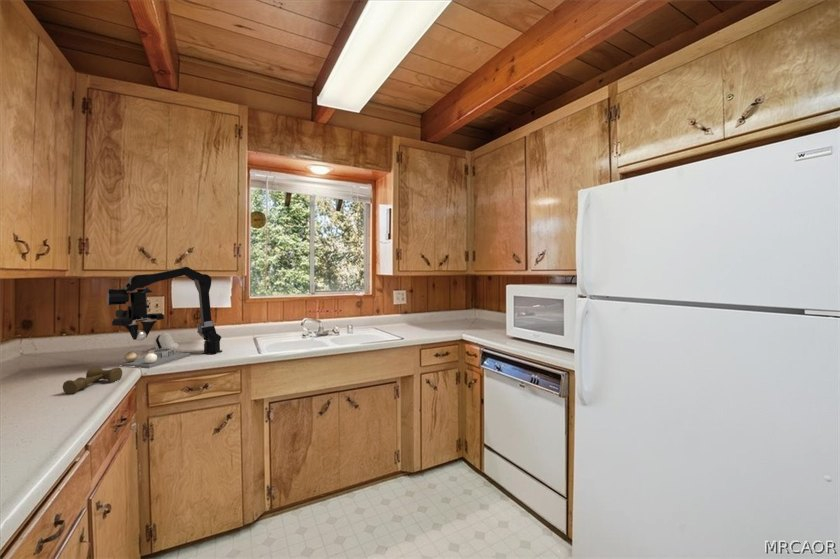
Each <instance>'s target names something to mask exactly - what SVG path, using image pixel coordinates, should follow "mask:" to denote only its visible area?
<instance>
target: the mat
mask: <svg viewBox="0 0 840 559" xmlns="http://www.w3.org/2000/svg"><path fill="white" fill-rule="evenodd" d="M191 356H192V354H191V352H176V354H175V355H173V356H169V357H164V358H157V360H156V361H155V362H154V363H147V362H145V356H143V357H138V358H136V360H135V361H133V362H127V361H124V362H119V363H118V366H119V365H122V366H121V367H124V366H135V367H134V368H139V367H141V368H144V369H152V368H155V367H158V366H162V365H164V364H169V363H171V362H173V361H179V360H182V359H185V358H188V357H191ZM141 368H140V369H141Z"/></svg>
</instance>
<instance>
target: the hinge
mask: <svg viewBox="0 0 840 559" xmlns="http://www.w3.org/2000/svg"><path fill="white" fill-rule="evenodd" d="M153 345H154V347H155V348H154V349H160V348H175V349H176V350H177V349H178V348H179V347H180V346H179V344H178V342H175V341H174V339H173V337H172V336H171V334H170V333H169V332H165V333H161V334H158V335H157V336H155V337H154V339H153Z"/></svg>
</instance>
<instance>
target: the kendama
mask: <svg viewBox="0 0 840 559" xmlns="http://www.w3.org/2000/svg"><path fill="white" fill-rule="evenodd" d="M122 377H123V369H122V368H121V367H120V366H119V367H113V368H111V369H103V368H102V367H100V366H99V365H95V366H91V367H90V368H89V369H88V370H87V371H86V374H85V377H78V378H76V379H75V380H71V379H70V380H69V379H68V380H65V381H64V382H63V384H62V391H63V392H64V394H66V395H75V394H77V393H78V391H79V390H85V389H87V388H88V386H89V385H90V384H92V383H95V381H96V382H98V381H99V380H108V381H109V382H110V383H116V382H115V381H117V380H119V381H120V380H122ZM117 382H118V381H117Z"/></svg>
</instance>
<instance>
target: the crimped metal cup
mask: <svg viewBox="0 0 840 559" xmlns="http://www.w3.org/2000/svg"><path fill="white" fill-rule="evenodd" d="M176 350H177V348H176V349H175V348H160V349H156V348H154V349H150V350H148V351H147V354H149V353H154V354H156V355H157V358H164V357H169V356H173V355H175V354H176V353H177V352H176Z"/></svg>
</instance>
